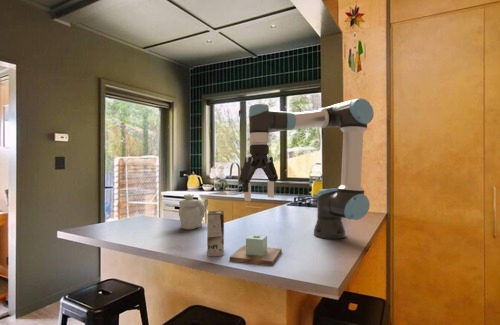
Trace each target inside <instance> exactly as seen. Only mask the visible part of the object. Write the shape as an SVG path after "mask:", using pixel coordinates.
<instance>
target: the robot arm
mask: <svg viewBox="0 0 500 325" xmlns="http://www.w3.org/2000/svg"><path fill="white" fill-rule="evenodd" d="M373 108H374V107H373V106H372V105H371V104H370V102H369V100H367V99H366V98H352V99H351V100H347V101H346V100H345V101H343V102H339V103H335V104H332V105H330V106H326V107H320V108H318V110H312V111H311V110H310V111H301V112H300V111H299V112H291V111H284V110H283V111H282V110H271V109H270V108H269V105H268V104H265V103H253V104H251V105H250V106H249V110H248V123H249V124H248V126H249V128H248V129H249V132H248V133H249V144H250V145H249V155H251V156H245V157H244V164H243V166H242V170H241V173H240V175H239V178H238V181H239V182H240V183H241V184H242V185H243V187H242V188H243V193H244V201H245V202H252V184H251V183H250V182H251V180H252V178H253V176H254V174H255V172H256V171H257V170H258V169H261V170H262V171H263V172H264V174H265V176H266V178H267V179H268V181H267V198H270V199H271V198H273V199H274V198H275V182H277V181H278V179H279V176H278V174H277V173H278V172H277V170H276V167H275V164H274V158H273V156H268V155H269V153H270V145H269V143H270V134H271V133H275V132H277V133H278V132H284V131H294V130H300V129H306V128H307V129H308V128H315V127H319V128H321V129H324V128H339V129H340V131H341V132H342V133H343V134H342V153H341V154H342V155H341V156H342V157H341V174H340V175H341V177H340V185H339V186H338V187H337V188H323V189H318V191H317V196H316V204H317V205H316V206H317V207H316V208H317V217H316V218H317V219H316V223H315V225H314V228H313V236H314V237H317V238H321V239H329V240H330V239H331V240H337V239H338V240H339V239H344V238H346V233H347V232H346V230H345V229H346V228H345V226H344V223H343V218H344V219H348V220H355V221H358V220H362V219H364V217H365V216H366V215H367V214H368V213H369V210H370V199H369V198H368V196H367V195H366V194H365V188H364V187H362V171H363V170H362V167H363V147H364V146H363V145H364V144H363V143H364V133H365V132H366V131H367V129H368V124H370V123H371V122H372V121H373V119H374V109H373Z"/></svg>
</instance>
